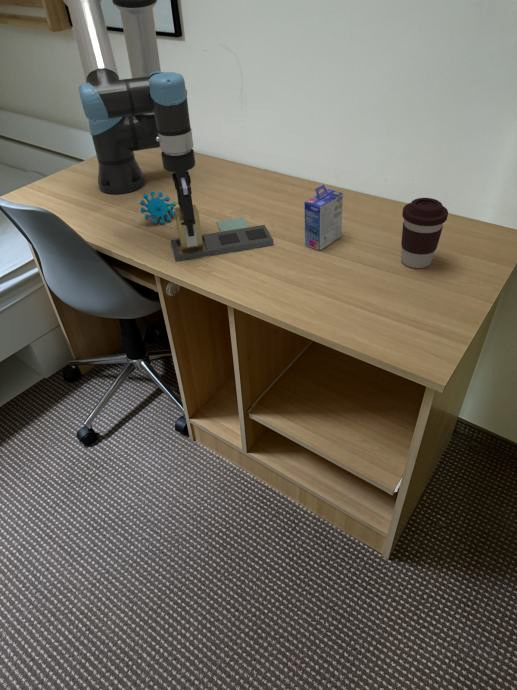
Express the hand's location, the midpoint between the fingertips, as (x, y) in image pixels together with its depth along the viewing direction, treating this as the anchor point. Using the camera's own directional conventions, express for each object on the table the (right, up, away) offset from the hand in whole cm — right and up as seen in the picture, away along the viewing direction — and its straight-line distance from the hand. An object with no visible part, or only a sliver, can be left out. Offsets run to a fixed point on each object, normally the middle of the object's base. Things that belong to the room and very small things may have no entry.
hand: (190, 239), depth 129 cm
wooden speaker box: (0, -1, +1) cm, 2 cm away
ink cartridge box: (+35, 0, +2) cm, 35 cm away
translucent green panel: (+11, +6, +10) cm, 16 cm away
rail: (+8, -1, +3) cm, 8 cm away
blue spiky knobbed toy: (-11, +9, +16) cm, 22 cm away
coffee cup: (+56, -7, -7) cm, 57 cm away
